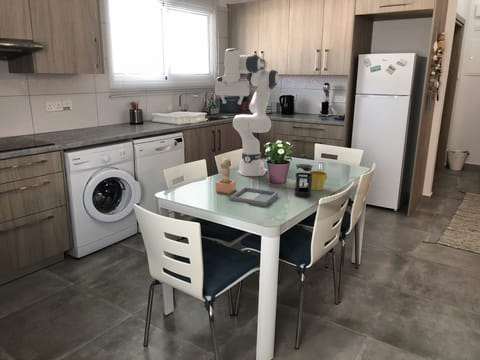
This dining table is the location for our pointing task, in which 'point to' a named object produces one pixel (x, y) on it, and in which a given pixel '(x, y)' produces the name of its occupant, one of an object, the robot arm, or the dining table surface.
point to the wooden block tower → (225, 170)
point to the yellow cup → (318, 179)
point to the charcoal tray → (260, 200)
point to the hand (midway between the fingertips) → (231, 103)
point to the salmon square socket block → (225, 186)
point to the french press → (300, 189)
